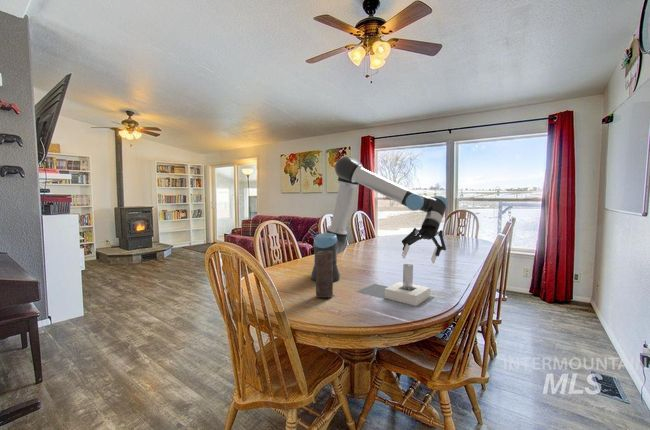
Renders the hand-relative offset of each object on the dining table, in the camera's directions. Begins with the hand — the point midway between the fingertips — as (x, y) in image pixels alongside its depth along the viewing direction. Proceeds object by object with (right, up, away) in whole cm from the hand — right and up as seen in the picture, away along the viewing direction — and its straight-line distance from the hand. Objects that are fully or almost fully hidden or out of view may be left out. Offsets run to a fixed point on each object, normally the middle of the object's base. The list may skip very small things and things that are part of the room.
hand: (417, 259), depth 134 cm
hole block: (-6, -16, -5) cm, 17 cm away
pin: (-6, -16, -5) cm, 17 cm away
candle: (-41, -16, -3) cm, 44 cm away
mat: (-10, -16, -1) cm, 19 cm away
